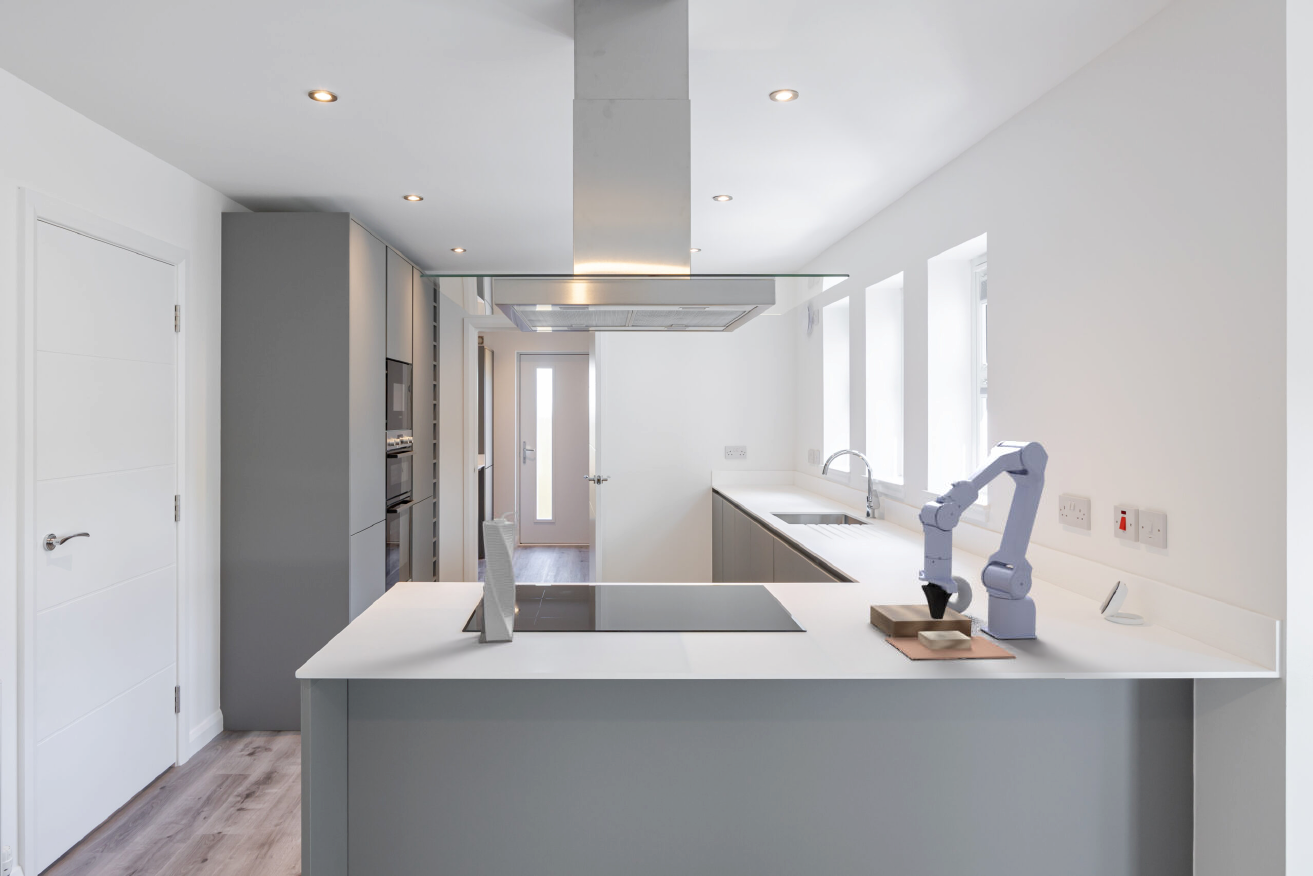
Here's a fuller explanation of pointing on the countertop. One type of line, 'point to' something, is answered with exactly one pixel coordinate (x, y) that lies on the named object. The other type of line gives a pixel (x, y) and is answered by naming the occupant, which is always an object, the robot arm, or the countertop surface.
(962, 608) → the donut
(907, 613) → the block
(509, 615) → the skyscraper
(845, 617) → the countertop surface
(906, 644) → the mat
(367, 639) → the countertop surface
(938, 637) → the cream rectangular block
